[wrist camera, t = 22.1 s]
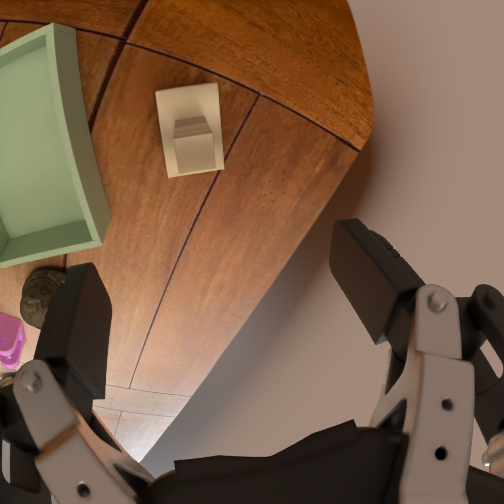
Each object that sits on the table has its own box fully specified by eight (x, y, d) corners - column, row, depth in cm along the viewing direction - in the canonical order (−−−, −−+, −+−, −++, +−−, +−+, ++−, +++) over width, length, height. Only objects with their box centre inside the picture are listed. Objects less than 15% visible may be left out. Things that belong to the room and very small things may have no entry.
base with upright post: (157, 89, 24) (146, 100, 16) (213, 81, 24) (230, 88, 17) (169, 167, 29) (166, 213, 21) (220, 159, 30) (238, 202, 22)
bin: (-36, 85, 15) (-66, 95, 10) (75, 28, 17) (53, 22, 13) (11, 241, 28) (-7, 270, 23) (112, 216, 30) (102, 246, 26)
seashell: (90, 291, 28) (12, 265, 23) (76, 383, 27) (3, 360, 23) (94, 274, 38) (34, 255, 33) (80, 347, 37) (22, 329, 32)
